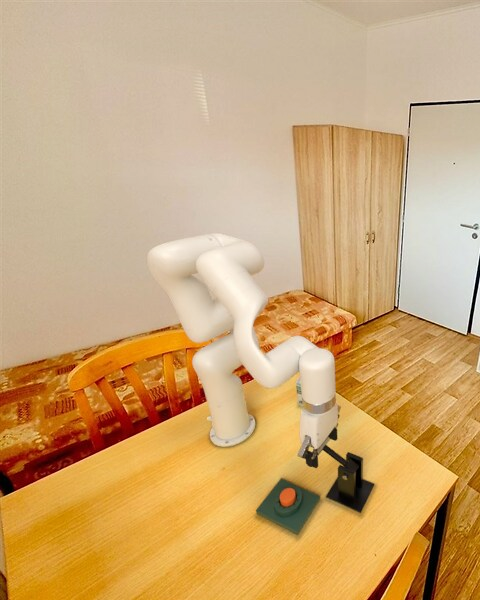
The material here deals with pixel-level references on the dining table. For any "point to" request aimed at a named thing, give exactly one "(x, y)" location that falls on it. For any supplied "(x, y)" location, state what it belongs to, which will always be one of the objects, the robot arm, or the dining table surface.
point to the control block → (292, 515)
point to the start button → (287, 497)
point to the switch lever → (336, 456)
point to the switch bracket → (351, 486)
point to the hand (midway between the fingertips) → (322, 451)
